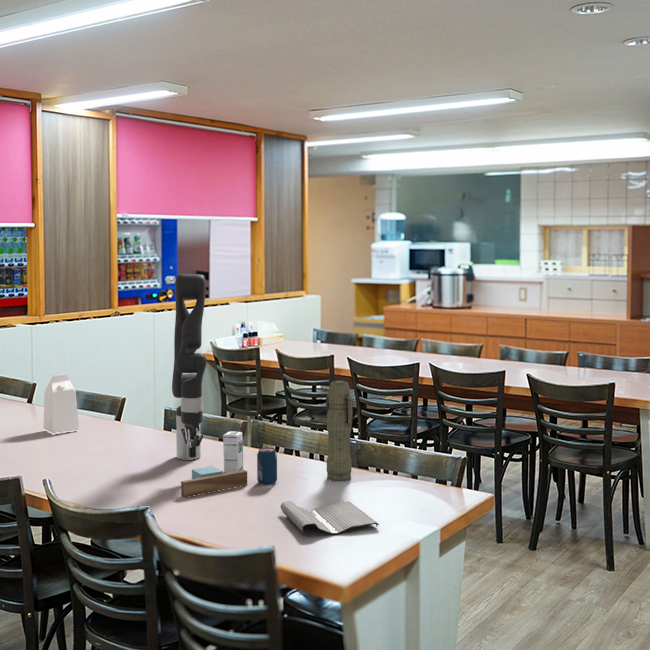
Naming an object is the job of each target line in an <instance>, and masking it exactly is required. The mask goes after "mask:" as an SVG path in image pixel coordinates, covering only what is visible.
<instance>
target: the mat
mask: <svg viewBox="0 0 650 650" xmlns="http://www.w3.org/2000/svg"><path fill="white" fill-rule="evenodd" d="M280 509H281V512H282V513H283V514H284V515H285V517H286V518H288V519H289V520H290V521H291V522H292V523H293V524H294V525H295V526H296V527H297V528H298V529H299V531H301V532H302V534H303V535H305V532H304V528H305V527H307V526H312V527H315V528H316V529H317V530H321V531H323V532H325V533H327V534H333V533H332V532H331V531H330V530H329V529H328V528H327V527H326V526H325V525H324V524H323V523H322V522H320V521H319V520H318V519H317V518H316V517H315V516H316V515H315V514H314V513H313V512H312V511H310V510H308V509H306V508H303V507H300V506H297V504H296V503H294V502H293V501H290V500H289V501H283V502H282V503H281V504H280ZM313 510H315V511H316V512H317V513H318V514H319V515H320V516H321V517H322V518H323V519H325V520H326V522H327V523H329V524H330V525H331V526H332V527H333V528H335V531H337V532H338V533H340V532H342V533H344V532H345V531H349V530H350V529H353V528H362V527H366V526H370V525H375V528H376V527H378V526H379V525H380V524H379V523H378V522H377V521H376V520H374V519H373V518H372V517H370V516H369V515H368V514H366V513H365V512H364V511H362V510H361V509H360V508H358V507H357V505H355V504H353V503H352V502H351V501H339V502H332V503H326V504H323V505H321V506H319V507H317V508H315V509H313ZM309 511H310V512H309ZM311 512H312V513H313V514H314V515H315V516H314V515H313V514H312V513H311ZM340 534H341V533H340Z"/></svg>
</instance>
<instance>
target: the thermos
mask: <svg viewBox="0 0 650 650" xmlns="http://www.w3.org/2000/svg"><path fill="white" fill-rule="evenodd" d="M350 393H351V388H350V385H349V383H348V382H347V381H346V380H338V379H337V380H333V381H331V382H330V384H329V388H328V393H327V394H326V397H325V404H326V405H325V406H326V409H325V410H326V411H325V412H326V416H325V419H326V431H327V437H328V438H327V439H328V440H327V453H328V454H327V455H328V456H327V458H326V475H327V476H326V479H327V480H329V481H330V480H331V482H336V481H342V482H347V481H346V480H348V481H350V480H351V479H352V467H353V466H352V465H353V462H352V458H351V432H352V426H353V418H354V417H353V415H354V413H353V407H354V406H353V405H354V404H353V398H352V396H351V394H350ZM349 479H350V480H349Z"/></svg>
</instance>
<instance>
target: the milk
mask: <svg viewBox="0 0 650 650" xmlns="http://www.w3.org/2000/svg"><path fill="white" fill-rule="evenodd" d="M43 399H44V401H43V428H44V429H46V430H48V431H50V432H52V433H56V432H63V431H71V430H78V429H79V428H80V426H79V413H78V400H77V391H76V389H75V387H74V386H73V383H72V381H70V378H69V377H68V375H67V374H66V373H62V374H53V375H52V376H51V379H50V381H49V383H48V385H47V386H46V387H45V390H44V398H43ZM79 430H80V429H79Z"/></svg>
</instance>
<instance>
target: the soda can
mask: <svg viewBox="0 0 650 650" xmlns="http://www.w3.org/2000/svg"><path fill="white" fill-rule="evenodd" d="M256 459H257V460H256V462H257V463H256V468H257V469H256V471H257V473H256V480H257V483H258V484H259V485H261V486H273V485H275V484H276V482H277V481H278V454H277V451H276V449H275V448H273V447H262V448H259V449H258V452H257V454H256Z"/></svg>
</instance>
